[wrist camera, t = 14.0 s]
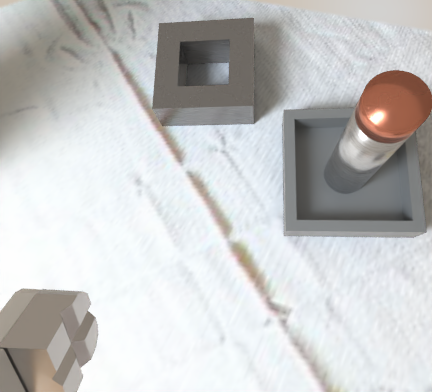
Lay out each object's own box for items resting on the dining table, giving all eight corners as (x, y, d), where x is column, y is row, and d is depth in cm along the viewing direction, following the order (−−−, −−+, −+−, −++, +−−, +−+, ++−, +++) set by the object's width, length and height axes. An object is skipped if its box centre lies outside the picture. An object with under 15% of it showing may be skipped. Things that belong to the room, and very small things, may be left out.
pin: (324, 193, 37) (364, 131, 23) (322, 154, 38) (360, 71, 24) (367, 193, 37) (436, 130, 22) (364, 154, 38) (428, 69, 23)
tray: (284, 235, 38) (285, 230, 35) (282, 123, 41) (283, 109, 38) (413, 237, 36) (426, 232, 33) (401, 120, 39) (412, 106, 36)
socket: (162, 126, 42) (152, 108, 38) (168, 46, 45) (159, 23, 41) (253, 123, 41) (252, 105, 37) (254, 42, 43) (253, 18, 40)
